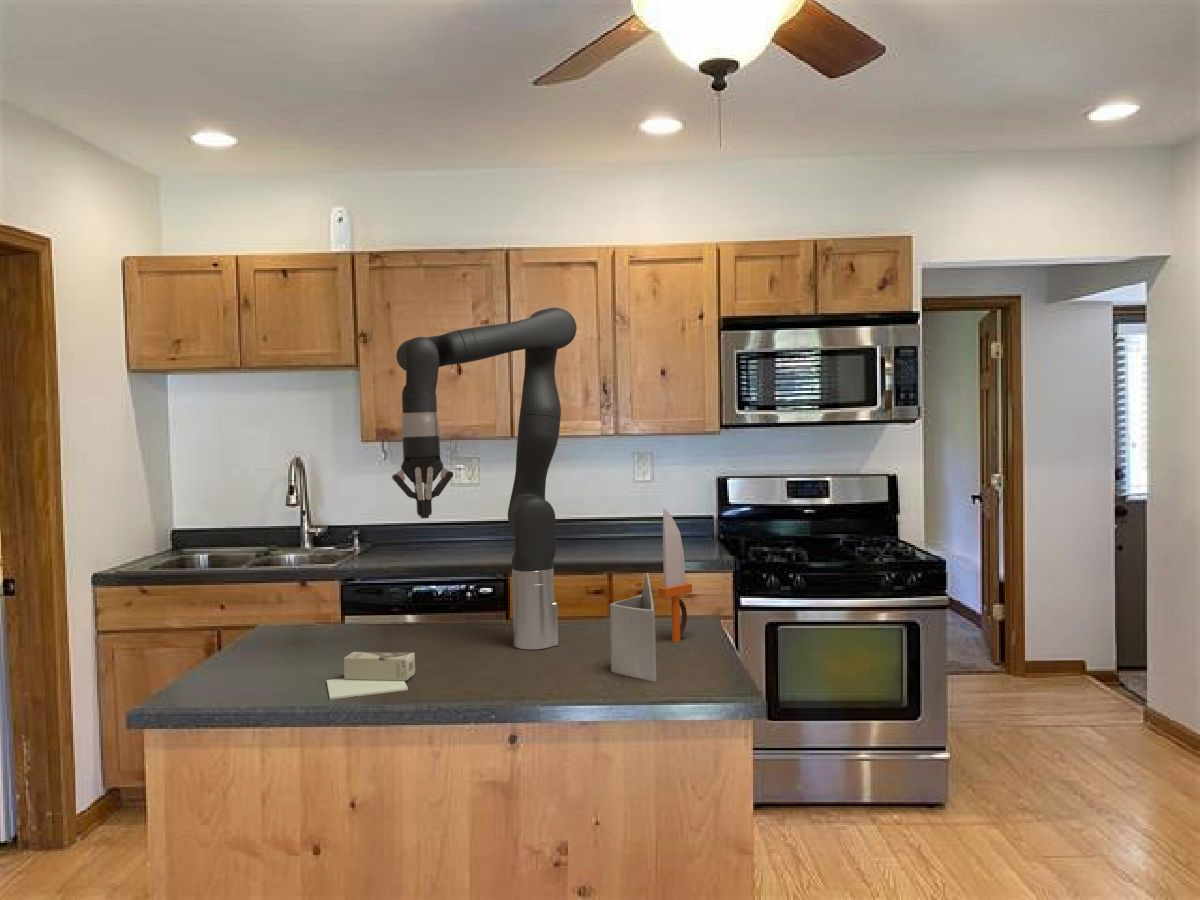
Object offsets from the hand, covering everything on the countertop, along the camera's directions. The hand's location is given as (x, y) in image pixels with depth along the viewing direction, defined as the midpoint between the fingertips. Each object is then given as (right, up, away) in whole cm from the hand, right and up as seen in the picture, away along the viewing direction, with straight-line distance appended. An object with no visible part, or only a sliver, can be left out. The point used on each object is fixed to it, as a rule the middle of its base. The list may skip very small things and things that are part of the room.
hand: (424, 517), depth 185 cm
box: (0, -28, -11) cm, 30 cm away
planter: (+43, -30, -9) cm, 53 cm away
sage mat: (-8, -31, -15) cm, 35 cm away
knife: (+54, -29, +14) cm, 62 cm away
